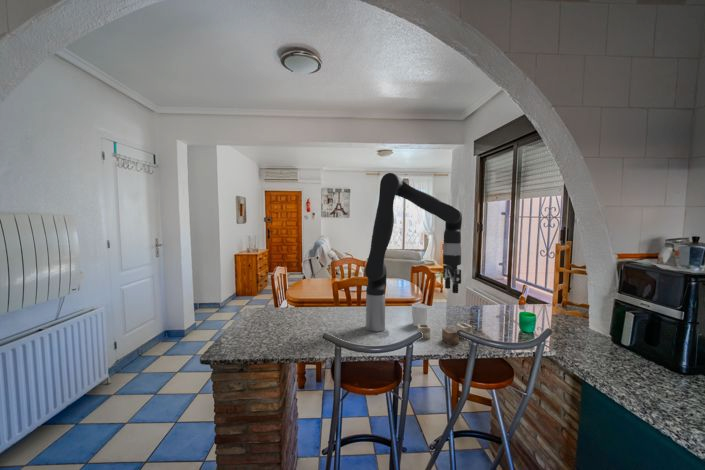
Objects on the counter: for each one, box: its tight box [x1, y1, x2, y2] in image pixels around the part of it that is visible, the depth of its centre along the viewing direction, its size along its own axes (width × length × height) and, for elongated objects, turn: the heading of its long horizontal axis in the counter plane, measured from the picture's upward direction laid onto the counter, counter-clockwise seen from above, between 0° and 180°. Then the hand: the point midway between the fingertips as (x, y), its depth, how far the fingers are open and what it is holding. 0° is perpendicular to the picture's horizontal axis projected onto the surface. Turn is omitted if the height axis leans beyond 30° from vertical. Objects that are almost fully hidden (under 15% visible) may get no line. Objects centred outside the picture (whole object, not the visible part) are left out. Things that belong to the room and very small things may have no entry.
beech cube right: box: [455, 322, 474, 334], centre depth 128 cm, size 5×5×5 cm
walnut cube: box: [441, 327, 460, 345], centre depth 121 cm, size 5×5×5 cm
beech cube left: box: [417, 323, 431, 340], centre depth 127 cm, size 5×5×5 cm
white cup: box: [411, 302, 429, 328], centre depth 142 cm, size 8×8×10 cm
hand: (451, 290), depth 121 cm, fingers open, 8 cm apart
